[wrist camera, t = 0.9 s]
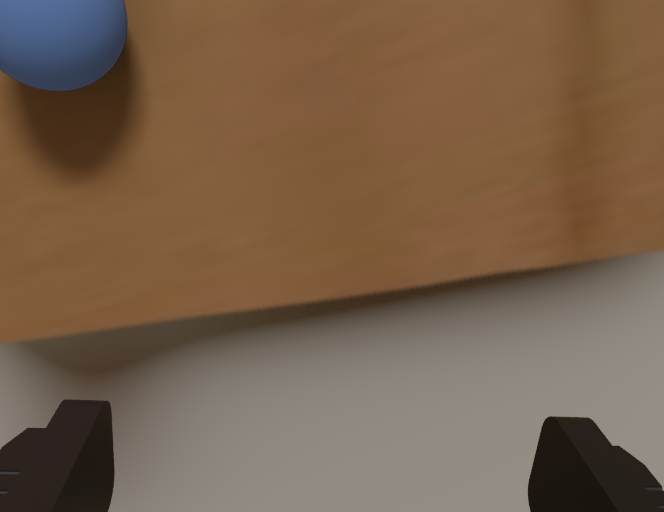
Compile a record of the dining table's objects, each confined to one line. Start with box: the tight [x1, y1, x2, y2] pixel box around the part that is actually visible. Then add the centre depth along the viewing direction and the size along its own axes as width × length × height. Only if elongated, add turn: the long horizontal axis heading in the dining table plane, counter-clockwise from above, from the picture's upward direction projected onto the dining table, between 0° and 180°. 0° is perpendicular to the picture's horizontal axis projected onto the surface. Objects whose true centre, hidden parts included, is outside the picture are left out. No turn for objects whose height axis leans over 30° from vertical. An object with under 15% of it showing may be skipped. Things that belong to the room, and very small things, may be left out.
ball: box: [0, 0, 127, 91], centre depth 24 cm, size 6×6×6 cm
